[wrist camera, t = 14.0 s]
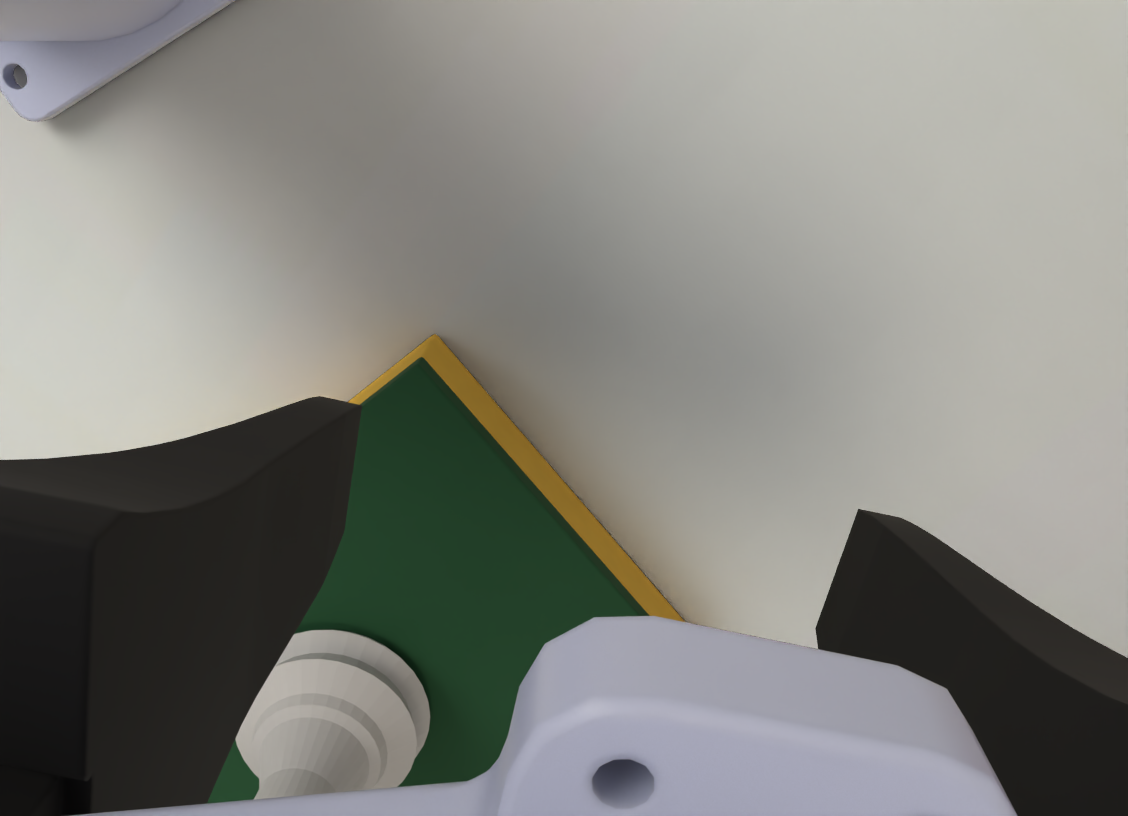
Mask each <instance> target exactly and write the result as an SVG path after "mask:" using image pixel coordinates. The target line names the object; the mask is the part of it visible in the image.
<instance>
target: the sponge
mask: <svg viewBox="0 0 1128 816" xmlns="http://www.w3.org/2000/svg"><path fill="white" fill-rule="evenodd" d="M348 402H349V403H354V404H358V405H362V410H361V417H360V424H359V431H358V438H357V445H356V452H355V460H354V467H353V474H352V481H351V488H350V495H349V502H348V509H347V516H346V523H345V530H344V534H343V536H342V539H341V541H340V544H339V547H338V549H337V552H336V554H335V557H334V559H333V562H332V564H331V567H330V569H329V571H328V574H327V576H326V579H325V581H324V583H323V585H322V587H321V589H320V591H319V592H318V594H317V596H316V598H315V599H314V601H313V603H312V604H311V606H310V608H309V610H308V611H307V613H306V615H305V616H304V618H303V620H302V621H301V623H300V625H299V627H298V628H297V630H296V632H295V633H294V634H297V633H301V632H306V631H311V630H340V631H347V632H353V633H356V634H359V635H363V636H366V637H369V638H371V639H373V640H375V641H377V642H379V643H381V644H383V645H384V646H386V647H387V648H389V649H390V650H391V651H393V652H394V653H395V654H397V655H398V656H399V657H400V658H401V659H402V660H403V661H404V662H405V663H406V664H407V665H408V666H409V667H410V668H411V669H412V670H413V672H414V673H415V675H416V676H417V678H418V679H419V681H420V682H421V684H422V686H423V688H424V691H425V694H426V696H427V699H428V703H429V710H430V724H429V732H428V735H427V737H426V740H425V743H424V746H423V747H422V749H421V750H420V752H419V753H418V755H417V756H416V758H415V759H414V762H413V765H412V767H411V770H410V771H409V773H408V774H407V776H406V777H405V779H404V780H403V782H402V783H401V784H400V785H399V786H398V787H404V786H416V785H427V784H439V783H451V782H462V781H469V780H471V779H473V778H476V777H477V776H479V775H481V774H483V773H485V772H486V771H488V770H489V769H490V768H491V767H492V765H493V764H494V763H495V762H496V761H497V759H498V758H499V756H500V754H501V751H502V749H503V747H504V744H505V742H506V739H507V737H508V733H509V728H510V724H511V720H512V716H513V711H514V707H515V703H516V698H517V694H518V690H519V686H520V684H521V683H522V681H523V679H524V678H525V676H526V674H527V673H528V671H529V669H530V668H531V666H532V664H533V663H534V661H535V659H536V658H537V656H538V654H539V652H540V651H541V649H542V647H543V646H544V644H545V643H547V642H549V641H551V640H553V639H554V638H556V637H558V636H560V635H562V634H564V633H566V632H568V631H569V630H571V629H573V628H575V627H577V626H579V625H581V624H583V623H584V622H586V621H588V620H590V619H592V618H594V617H626V616H657V617H662V618H667V619H672V620H677V621H682V622H685V621H684V620H683V619H682V618H681V617H680V615H679V614H678V613H677V612H676V611H675V610H674V608H673V607H672V606H671V605H670V604H669V603H668V602H667V600H666V599H665V598H664V597H663V596H662V595H661V593H660V592H659V591H658V590H657V589H656V588H655V587H654V585H653V584H652V583H651V582H650V581H649V580H648V578H647V577H646V576H645V575H644V574H643V573H642V571H641V570H640V569H639V568H638V567H637V566H636V565H635V563H634V562H633V561H632V560H631V559H630V558H629V556H628V555H627V554H626V553H625V552H624V551H623V549H622V548H621V547H620V546H619V545H618V544H617V543H616V541H615V540H614V539H613V538H612V537H611V536H610V534H609V533H608V532H607V531H606V530H605V529H604V528H603V526H602V525H601V524H600V523H599V522H598V521H597V519H596V518H595V517H594V516H593V515H592V514H591V512H590V511H589V510H588V509H587V508H586V507H585V506H584V504H583V503H582V502H581V501H580V500H579V499H578V497H577V496H576V495H575V494H574V493H573V492H572V490H571V489H570V488H569V487H568V486H567V485H566V484H565V482H564V481H563V480H562V479H561V478H560V477H559V475H558V474H557V473H556V472H555V471H554V470H553V469H552V467H551V466H550V465H549V464H548V463H547V462H546V460H545V459H544V458H543V457H542V456H541V455H540V453H539V452H538V451H537V450H536V449H535V448H534V447H533V445H532V444H531V443H530V442H529V441H528V440H527V438H526V437H525V436H524V435H523V434H522V433H521V432H520V430H519V429H518V428H517V427H516V426H515V425H514V423H513V422H512V421H511V420H510V419H509V418H508V416H507V415H506V414H505V413H504V412H503V411H502V410H501V408H500V407H499V406H498V405H497V404H496V403H495V401H494V400H493V399H492V398H491V397H490V396H489V394H488V393H487V392H486V391H485V390H484V389H483V388H482V386H481V385H480V384H479V383H478V382H477V381H476V379H475V378H474V377H473V376H472V375H471V374H470V373H469V371H468V370H467V369H466V368H465V367H464V366H463V364H462V363H461V362H460V361H459V360H458V359H457V357H456V356H455V355H454V354H453V353H452V352H451V351H450V349H449V348H448V347H447V346H446V345H445V344H444V342H443V341H442V340H441V339H440V338H439V337H438V336H437V335H436V334H434V335H432V336H431V337H429V338H428V339H427V340H426V341H424V342H423V343H422V344H420V345H419V346H418V347H417V348H415V349H414V350H413V351H412V352H410V353H409V354H408V355H407V356H405V357H404V358H403V359H401V360H400V361H399V362H398V363H396V364H395V365H394V366H393V367H391V368H390V369H389V370H388V371H386V372H385V373H384V374H382V375H381V376H380V377H379V378H377V379H376V380H375V381H374V382H372V383H371V384H370V385H369V386H367V387H366V388H365V389H363V390H362V391H361V392H360V393H358V394H357V395H356V396H355V397H353V398H352V399H351V400H350V401H348ZM258 791H259V778H258V777H257V776H256V775H255V774H254V773H253V772H252V770H251V769H250V768H249V766H248V765H247V764H246V762H245V761H244V759H243V757H242V755H241V753H240V751H239V749H238V747H237V743H236V739H235V741H234V743H233V745H232V747H231V750H230V752H229V754H228V756H227V759H226V761H225V763H224V765H223V768H222V770H221V772H220V774H219V777H218V779H217V781H216V783H215V786H214V788H213V790H212V793H211V795H210V797H209V800H208V802H207V804H208V803H219V802H231V801H242V800H254V798H255V796H256V794H257V792H258Z"/></svg>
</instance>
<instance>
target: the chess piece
mask: <svg viewBox="0 0 1128 816" xmlns="http://www.w3.org/2000/svg"><path fill="white" fill-rule="evenodd" d="M429 724H430V710H429V703H428V699H427V696H426V694H425V691H424V688H423V686H422V684H421V682H420V681H419V679H418V678H417V676H416V675H415V673H414V672H413V670H412V669H411V668H410V667H409V666H408V665H407V664H406V663H405V662H404V661H403V660H402V659H401V658H400V657H399V656H398V655H397V654H395V653H394V652H393V651H391V650H390V649H389V648H387V647H386V646H384V645H383V644H381V643H379V642H377V641H375V640H373V639H371V638H369V637H366V636H363V635H359V634H356V633H353V632H347V631H340V630H311V631H306V632H301V633H297V634H294V635H293V637H292V638H291V640H290V641H289V643H288V645H287V646H286V648H285V650H284V651H283V653H282V655H281V656H280V658H279V660H278V661H277V663H276V665H275V666H274V668H273V670H272V672H271V673H270V675H269V677H268V678H267V680H266V682H265V683H264V685H263V687H262V688H261V690H260V692H259V693H258V695H257V697H256V698H255V700H254V702H253V704H252V706H251V708H250V710H249V712H248V713H247V715H246V717H245V719H244V721H243V723H242V725H241V727H240V730H239V732H238V734H237V736H236V743H237V747H238V749H239V751H240V753H241V755H242V757H243V759H244V761H245V762H246V764H247V765H248V766H249V768H250V769H251V770H252V772H253V773H254V774H255V775H256V776H257V777H258V778H259V791H258V792H257V794H256V796H255V798H254V799H266V798H277V797H289V796H300V795H312V794H323V793H335V792H347V791H358V790H370V789H381V788H393V787H398V786H399V785H400V784H401V783H402V782H403V780H404V779H405V777H406V776H407V774H408V773H409V771H410V770H411V767H412V765H413V762H414V759H415V758H416V756H417V755H418V753H419V752H420V750H421V749H422V747H423V746H424V743H425V740H426V737H427V735H428V732H429Z"/></svg>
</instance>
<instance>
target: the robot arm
mask: <svg viewBox="0 0 1128 816" xmlns="http://www.w3.org/2000/svg"><path fill="white" fill-rule="evenodd" d="M234 1H235V0H0V91H1V92H2V93H3V95H4V96H5V98H6V99H7V100H8V102H9V103H10V105H11V106H12V108H13V109H14V110H15V111H16V112H17V113H18V114H19V115H20V116H21V117H23V118H25V119H27V120H29V121H37V122H39V121H45V120H48V119H51V118H54V117H55V116H57V115H58V114H60V113H61V112H63V111H64V110H66V109H68V108H69V107H71V106H72V105H74V104H75V103H77V102H78V101H80V100H82V99H83V98H85V97H86V96H88V95H89V94H91V93H92V92H94V91H96V90H97V89H99V88H100V87H102V86H103V85H105V84H106V83H108V82H110V81H111V80H113V79H114V78H116V77H117V76H119V75H120V74H122V73H124V72H125V71H127V70H128V69H130V68H131V67H133V66H134V65H136V64H138V63H139V62H141V61H142V60H144V59H145V58H147V57H148V56H150V55H152V54H153V53H155V52H156V51H158V50H159V49H161V48H162V47H164V46H165V45H167V44H169V43H170V42H172V41H173V40H175V39H176V38H178V37H179V36H181V35H183V34H184V33H186V32H187V31H189V30H190V29H192V28H193V27H195V26H197V25H198V24H200V23H201V22H203V21H204V20H206V19H207V18H209V17H211V16H212V15H214V14H215V13H217V12H218V11H220V10H221V9H223V8H225V7H226V6H228V5H229V4H231V3H232V2H234ZM17 65H19V66H20V67H22V68H23V69H24V70H25V73H26V75H27V84H26V85H25V86H24V88H23V87H21V86H20V85H19V84H18V83H16V81H15V78H14V76H13V74H14V68H15V67H16V66H17ZM361 410H362V405H358V404H354V403H349V402H344V401H339V400H334V399H330V398H325V397H320V396H319V397H312V398H308V399H305V400H302V401H299V402H295V403H293V404H290V405H287V406H284V407H281V408H278V409H276V410H273V411H270V412H267V413H264V414H261V415H258V416H255V417H253V418H250V419H247V420H244V421H241V422H238V423H235V424H232V425H228V426H225V427H222V428H218V429H215V430H211V431H208V432H205V433H201V434H198V435H194V436H191V437H187V438H184V439H180V440H176V441H172V442H167V443H162V444H158V445H153V446H147V447H142V448H136V449H130V450H125V451H118V452H111V453H102V454H92V455H81V456H70V457H60V458H49V459H24V460H0V816H1128V658H1126V657H1124V656H1123V655H1121V654H1119V653H1117V652H1115V651H1113V650H1111V649H1109V648H1108V647H1106V646H1104V645H1102V644H1100V643H1098V642H1096V641H1094V640H1093V639H1091V638H1089V637H1087V636H1085V635H1084V634H1082V633H1080V632H1079V631H1077V630H1075V629H1073V628H1072V627H1070V626H1068V625H1067V624H1065V623H1063V622H1062V621H1060V620H1059V619H1057V618H1055V617H1054V616H1052V615H1051V614H1049V613H1047V612H1046V611H1044V610H1043V609H1041V608H1039V607H1038V606H1036V605H1035V604H1033V603H1031V602H1030V601H1028V600H1027V599H1025V598H1024V597H1022V596H1021V595H1019V594H1018V593H1016V592H1015V591H1013V590H1012V589H1010V588H1009V587H1007V586H1006V585H1004V584H1003V583H1001V582H1000V581H998V580H997V579H996V578H994V577H993V576H991V575H990V574H988V573H987V572H985V571H984V570H983V569H981V568H980V567H978V566H977V565H975V564H974V563H972V562H971V561H970V560H968V559H967V558H965V557H964V556H962V555H961V554H959V553H958V552H957V551H955V550H954V549H952V548H951V547H949V546H948V545H946V544H945V543H943V542H942V541H940V540H939V539H937V538H936V537H934V536H933V535H931V534H930V533H928V532H926V531H925V530H923V529H921V528H920V527H918V526H916V525H914V524H913V523H911V522H909V521H906V520H904V519H902V518H899V517H894V516H890V515H885V514H880V513H875V512H870V511H866V510H861V509H858V512H857V514H856V517H855V520H854V523H853V525H852V528H851V531H850V534H849V537H848V539H847V542H846V545H845V548H844V551H843V553H842V556H841V559H840V562H839V564H838V567H837V570H836V573H835V576H834V578H833V581H832V584H831V587H830V590H829V592H828V595H827V598H826V601H825V603H824V606H823V609H822V612H821V615H820V617H819V620H818V623H817V626H816V635H817V643H818V649H814V648H810V647H805V646H800V645H795V644H790V643H785V642H780V641H775V640H770V639H765V638H760V637H755V636H751V635H746V634H741V633H736V632H731V631H726V630H721V629H716V628H711V627H706V626H701V625H696V624H692V623H687V622H682V621H677V620H672V619H667V618H662V617H657V616H626V617H594V618H592V619H590V620H588V621H586V622H584V623H583V624H581V625H579V626H577V627H575V628H573V629H571V630H569V631H568V632H566V633H564V634H562V635H560V636H558V637H556V638H554V639H553V640H551V641H549V642H547V643H545V644H544V646H543V647H542V649H541V651H540V652H539V654H538V656H537V658H536V659H535V661H534V663H533V664H532V666H531V668H530V669H529V671H528V673H527V674H526V676H525V678H524V679H523V681H522V683H521V684H520V686H519V690H518V694H517V698H516V703H515V707H514V711H513V716H512V720H511V724H510V728H509V733H508V737H507V739H506V742H505V744H504V747H503V749H502V751H501V754H500V756H499V758H498V759H497V761H496V762H495V763H494V764H493V765H492V767H491V768H490V769H489V770H488V771H486V772H485V773H483V774H481V775H479V776H477V777H476V778H473V779H471V780H469V781H462V782H451V783H439V784H427V785H416V786H404V787H393V788H381V789H370V790H358V791H347V792H335V793H323V794H312V795H300V796H289V797H277V798H266V799H254V800H242V801H231V802H219V803H208V804H207V802H208V800H209V797H210V795H211V793H212V790H213V788H214V786H215V783H216V781H217V779H218V777H219V774H220V772H221V770H222V768H223V765H224V763H225V761H226V759H227V756H228V754H229V752H230V750H231V747H232V745H233V743H234V741H235V739H236V736H237V734H238V732H239V730H240V727H241V725H242V723H243V721H244V719H245V717H246V715H247V713H248V712H249V710H250V708H251V706H252V704H253V702H254V700H255V698H256V697H257V695H258V693H259V692H260V690H261V688H262V687H263V685H264V683H265V682H266V680H267V678H268V677H269V675H270V673H271V672H272V670H273V668H274V666H275V665H276V663H277V661H278V660H279V658H280V656H281V655H282V653H283V651H284V650H285V648H286V646H287V645H288V643H289V641H290V640H291V638H292V637H293V635H294V633H295V632H296V630H297V628H298V627H299V625H300V623H301V621H302V620H303V618H304V616H305V615H306V613H307V611H308V610H309V608H310V606H311V604H312V603H313V601H314V599H315V598H316V596H317V594H318V592H319V591H320V589H321V587H322V585H323V583H324V581H325V579H326V576H327V574H328V571H329V569H330V567H331V564H332V562H333V559H334V557H335V554H336V552H337V549H338V547H339V544H340V541H341V539H342V536H343V534H344V530H345V523H346V516H347V509H348V502H349V495H350V488H351V481H352V474H353V467H354V460H355V452H356V445H357V438H358V431H359V424H360V417H361Z"/></svg>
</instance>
